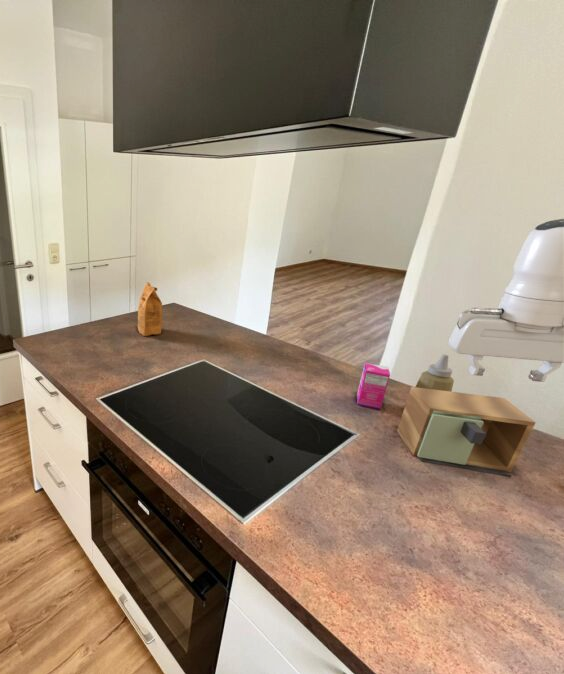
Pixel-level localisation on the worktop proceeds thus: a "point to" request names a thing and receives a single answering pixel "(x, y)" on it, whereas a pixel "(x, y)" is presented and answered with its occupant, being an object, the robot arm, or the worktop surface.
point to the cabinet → (497, 414)
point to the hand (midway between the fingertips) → (504, 377)
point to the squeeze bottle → (437, 376)
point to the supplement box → (373, 386)
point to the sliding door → (451, 438)
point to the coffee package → (149, 312)
